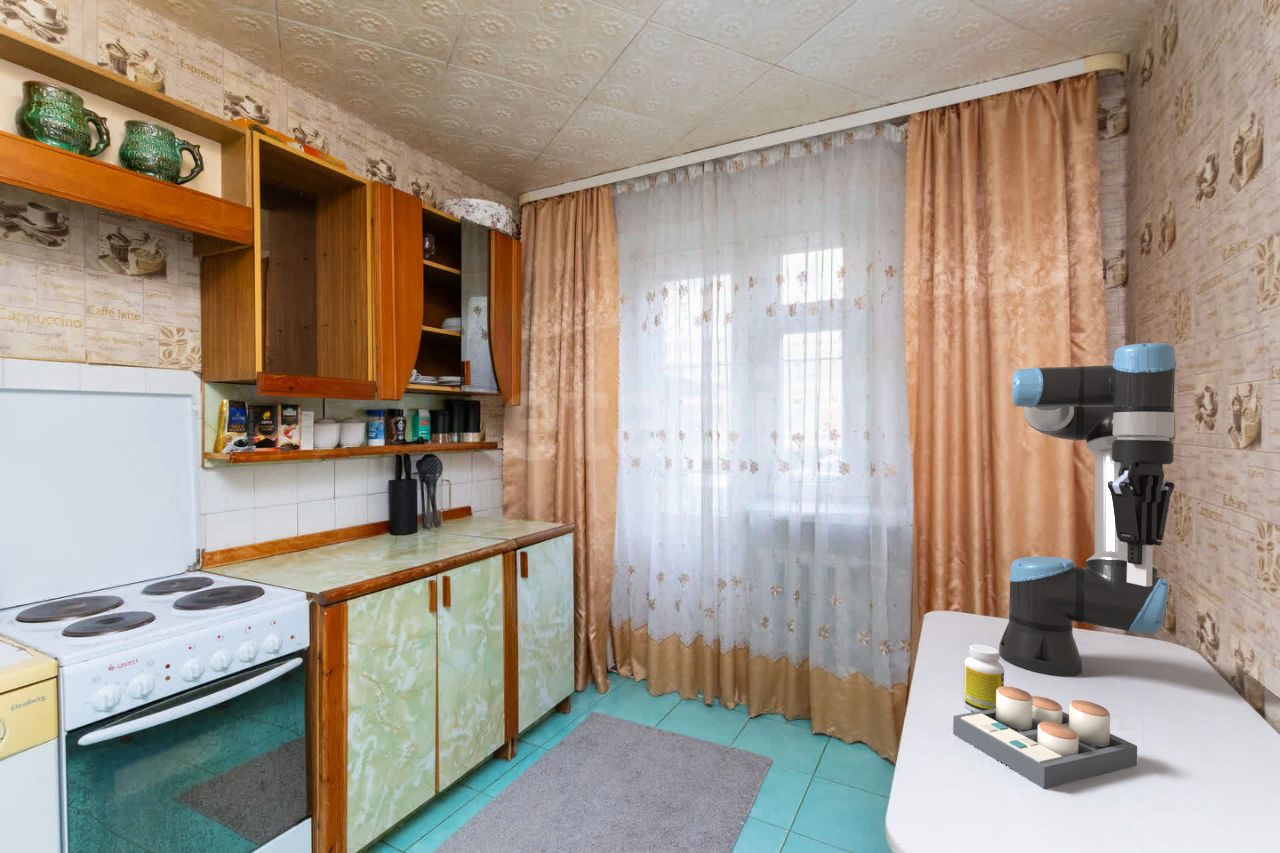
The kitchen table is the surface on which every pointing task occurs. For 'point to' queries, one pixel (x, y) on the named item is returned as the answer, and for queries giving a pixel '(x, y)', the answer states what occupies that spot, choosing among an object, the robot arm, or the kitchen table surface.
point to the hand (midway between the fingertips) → (1139, 583)
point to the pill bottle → (982, 678)
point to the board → (1041, 750)
